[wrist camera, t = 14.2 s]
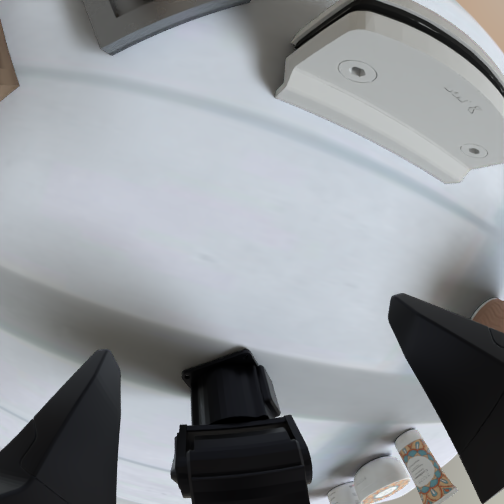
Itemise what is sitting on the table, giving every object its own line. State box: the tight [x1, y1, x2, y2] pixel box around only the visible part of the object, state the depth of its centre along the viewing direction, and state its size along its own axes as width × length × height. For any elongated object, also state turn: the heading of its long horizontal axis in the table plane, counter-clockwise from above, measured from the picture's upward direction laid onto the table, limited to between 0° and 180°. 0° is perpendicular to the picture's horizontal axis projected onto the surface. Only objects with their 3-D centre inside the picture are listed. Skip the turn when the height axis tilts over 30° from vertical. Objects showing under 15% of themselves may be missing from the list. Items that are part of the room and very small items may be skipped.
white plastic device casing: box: [275, 0, 504, 184], centre depth 16 cm, size 17×5×10 cm, turn 70°
